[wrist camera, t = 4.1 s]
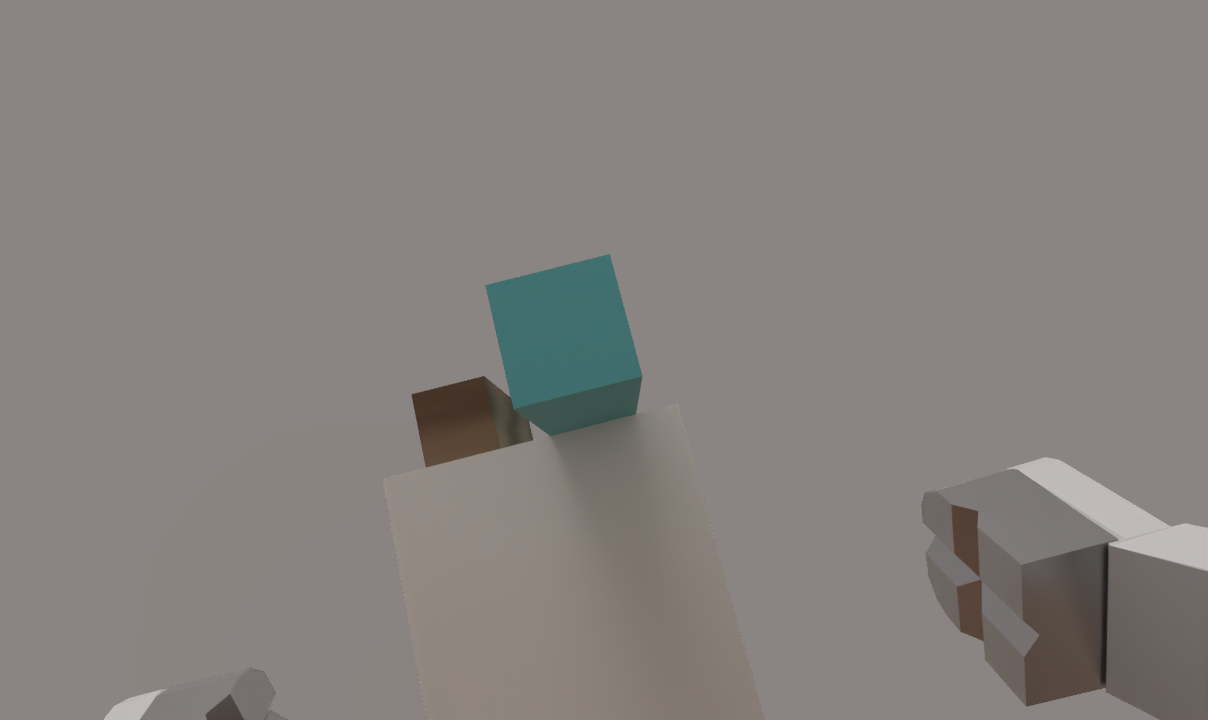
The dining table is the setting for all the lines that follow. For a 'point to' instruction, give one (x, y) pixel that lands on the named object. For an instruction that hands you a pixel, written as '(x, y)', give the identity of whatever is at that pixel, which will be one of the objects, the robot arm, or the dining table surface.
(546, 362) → the teal bar
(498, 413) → the walnut rail
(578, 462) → the pedestal
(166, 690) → the robot arm
